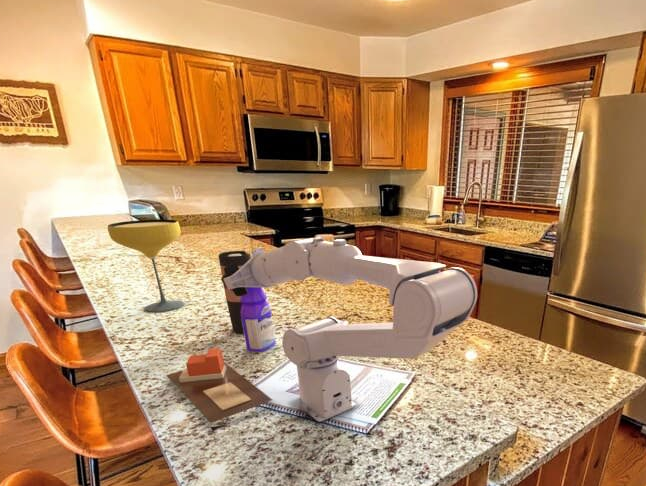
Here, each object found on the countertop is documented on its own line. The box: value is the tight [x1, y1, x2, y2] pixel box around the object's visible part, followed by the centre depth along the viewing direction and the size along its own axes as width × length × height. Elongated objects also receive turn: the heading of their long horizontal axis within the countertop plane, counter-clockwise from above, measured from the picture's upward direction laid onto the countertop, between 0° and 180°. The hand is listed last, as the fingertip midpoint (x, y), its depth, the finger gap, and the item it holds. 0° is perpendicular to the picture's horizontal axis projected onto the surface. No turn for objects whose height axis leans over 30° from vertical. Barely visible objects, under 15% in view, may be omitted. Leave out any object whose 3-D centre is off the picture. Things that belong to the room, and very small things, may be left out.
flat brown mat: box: [166, 362, 273, 431], centre depth 82 cm, size 24×11×2 cm, turn 43°
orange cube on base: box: [179, 347, 226, 382], centre depth 85 cm, size 8×4×5 cm, turn 103°
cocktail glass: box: [107, 218, 185, 313], centre depth 127 cm, size 18×18×25 cm
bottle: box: [240, 287, 277, 353], centre depth 97 cm, size 7×6×17 cm
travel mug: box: [218, 250, 252, 335], centre depth 110 cm, size 8×8×20 cm
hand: (242, 276), depth 83 cm, fingers open, 7 cm apart
